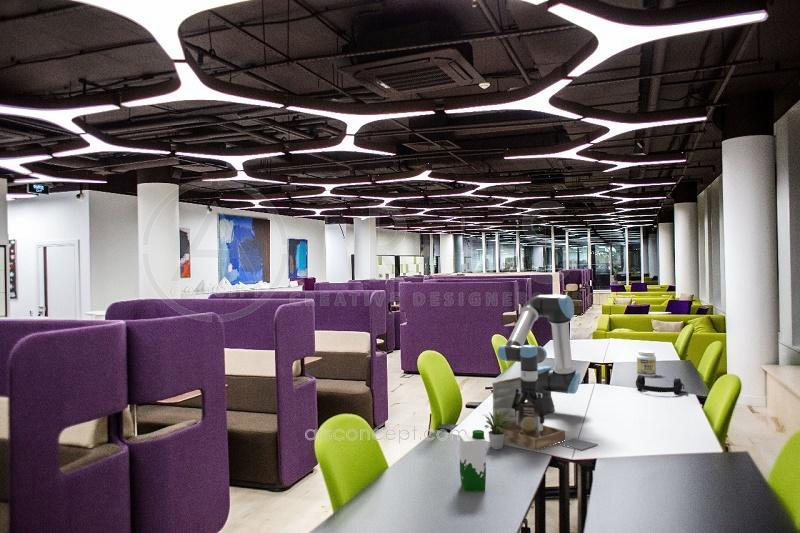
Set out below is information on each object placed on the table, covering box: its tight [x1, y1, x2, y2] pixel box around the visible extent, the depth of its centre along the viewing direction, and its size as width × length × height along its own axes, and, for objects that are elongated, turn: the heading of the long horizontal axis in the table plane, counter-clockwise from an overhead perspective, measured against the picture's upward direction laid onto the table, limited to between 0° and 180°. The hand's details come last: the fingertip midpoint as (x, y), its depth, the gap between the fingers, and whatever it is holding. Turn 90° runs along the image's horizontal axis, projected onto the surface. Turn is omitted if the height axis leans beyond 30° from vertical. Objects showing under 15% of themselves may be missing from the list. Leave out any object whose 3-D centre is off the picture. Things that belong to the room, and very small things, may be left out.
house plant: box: [482, 410, 514, 450], centre depth 251 cm, size 14×14×16 cm
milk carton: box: [459, 429, 487, 493], centre depth 206 cm, size 9×9×20 cm
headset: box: [635, 374, 685, 395], centre depth 357 cm, size 28×26×9 cm
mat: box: [557, 437, 598, 452], centre depth 254 cm, size 12×12×1 cm
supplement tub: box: [636, 350, 657, 378], centre depth 407 cm, size 12×12×17 cm
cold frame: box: [492, 376, 566, 451], centre depth 263 cm, size 25×20×25 cm
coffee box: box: [518, 401, 541, 438], centre depth 263 cm, size 9×6×16 cm
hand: (529, 427), depth 263 cm, fingers open, 11 cm apart
